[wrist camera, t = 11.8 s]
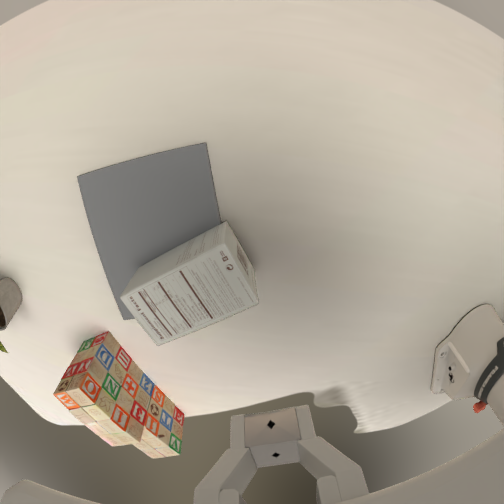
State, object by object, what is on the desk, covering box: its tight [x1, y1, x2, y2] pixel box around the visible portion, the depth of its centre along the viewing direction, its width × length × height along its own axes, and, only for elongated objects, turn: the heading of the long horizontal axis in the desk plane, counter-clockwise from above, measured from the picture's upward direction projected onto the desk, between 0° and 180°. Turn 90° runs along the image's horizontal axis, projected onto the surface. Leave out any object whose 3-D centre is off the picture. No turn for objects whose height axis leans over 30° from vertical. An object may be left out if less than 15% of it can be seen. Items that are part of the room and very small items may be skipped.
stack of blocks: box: [53, 331, 184, 458], centre depth 37 cm, size 21×6×12 cm, turn 25°
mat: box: [77, 143, 221, 320], centre depth 33 cm, size 20×16×1 cm
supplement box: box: [120, 221, 259, 346], centre depth 31 cm, size 7×7×13 cm
